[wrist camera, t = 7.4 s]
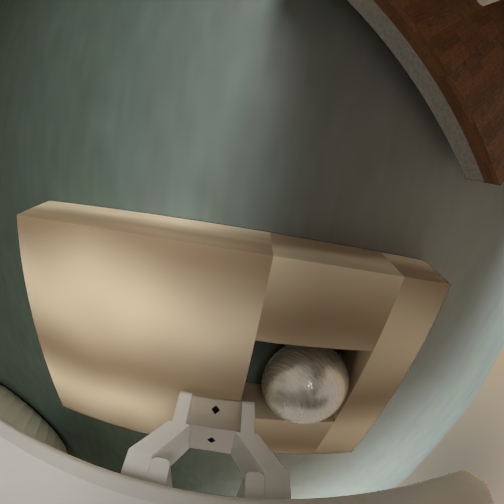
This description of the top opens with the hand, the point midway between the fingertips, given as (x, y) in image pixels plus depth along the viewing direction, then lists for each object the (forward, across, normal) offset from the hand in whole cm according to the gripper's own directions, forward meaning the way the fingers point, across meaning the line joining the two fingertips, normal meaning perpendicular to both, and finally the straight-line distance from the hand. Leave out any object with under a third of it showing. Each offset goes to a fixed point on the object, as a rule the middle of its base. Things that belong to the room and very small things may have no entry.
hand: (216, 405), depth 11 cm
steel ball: (+2, -4, 0) cm, 4 cm away
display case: (+3, -8, -18) cm, 20 cm away
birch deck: (+4, 0, 0) cm, 4 cm away
